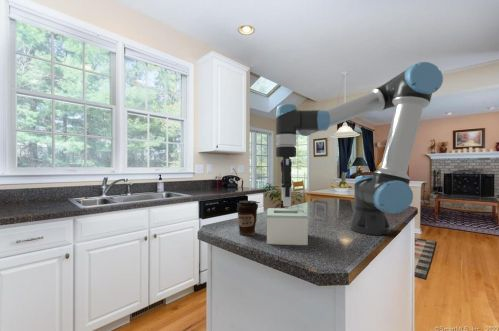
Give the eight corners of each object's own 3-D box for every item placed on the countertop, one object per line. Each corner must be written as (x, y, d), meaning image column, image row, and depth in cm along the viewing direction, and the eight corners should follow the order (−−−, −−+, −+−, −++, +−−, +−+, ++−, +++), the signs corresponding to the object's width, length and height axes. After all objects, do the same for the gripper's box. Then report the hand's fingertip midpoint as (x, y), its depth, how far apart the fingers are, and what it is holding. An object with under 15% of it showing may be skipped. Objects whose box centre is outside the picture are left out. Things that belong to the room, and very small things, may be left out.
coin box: (302, 233, 96) (302, 208, 96) (307, 245, 83) (307, 216, 83) (267, 232, 98) (267, 208, 98) (266, 243, 84) (266, 215, 84)
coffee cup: (255, 237, 91) (255, 203, 91) (234, 236, 93) (234, 202, 93) (259, 231, 100) (259, 200, 100) (240, 230, 102) (240, 199, 102)
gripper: (275, 148, 103) (275, 198, 103) (276, 143, 78) (276, 209, 78) (293, 148, 102) (293, 198, 102) (300, 143, 77) (300, 209, 77)
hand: (285, 203), depth 90 cm, fingers open, 13 cm apart
